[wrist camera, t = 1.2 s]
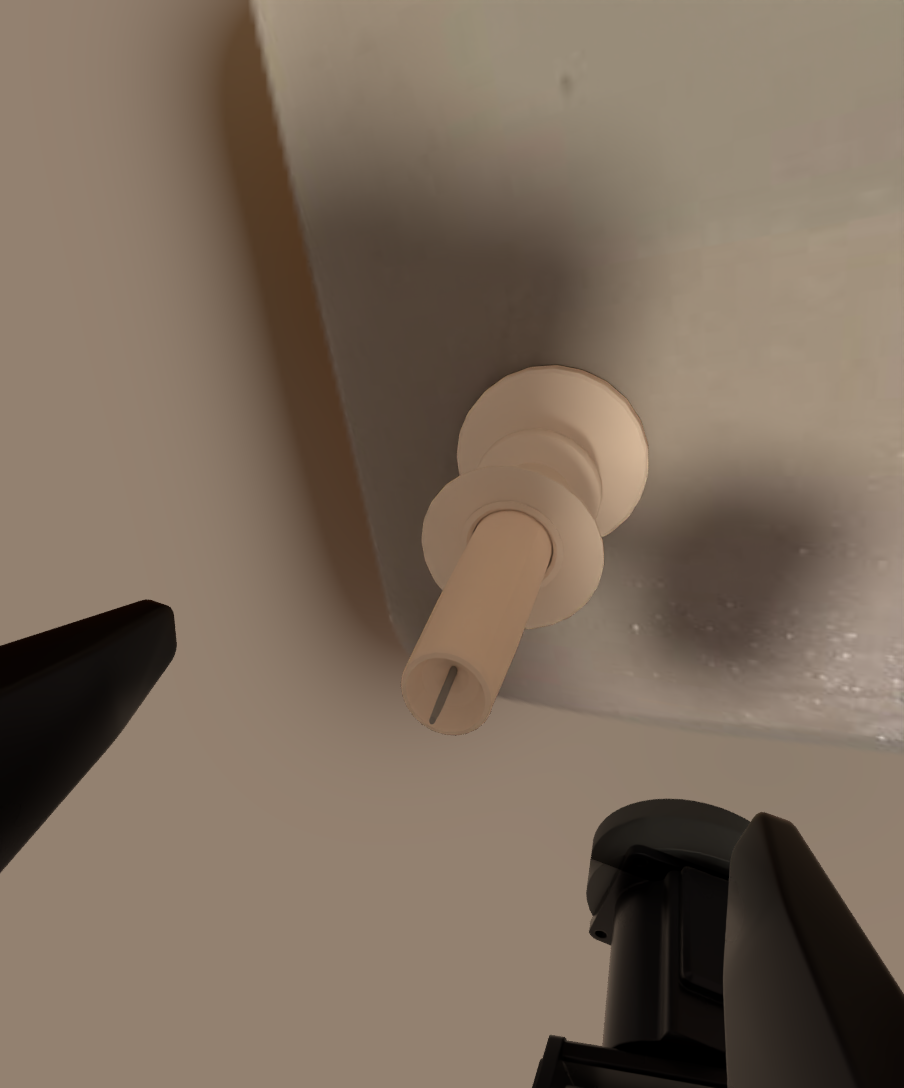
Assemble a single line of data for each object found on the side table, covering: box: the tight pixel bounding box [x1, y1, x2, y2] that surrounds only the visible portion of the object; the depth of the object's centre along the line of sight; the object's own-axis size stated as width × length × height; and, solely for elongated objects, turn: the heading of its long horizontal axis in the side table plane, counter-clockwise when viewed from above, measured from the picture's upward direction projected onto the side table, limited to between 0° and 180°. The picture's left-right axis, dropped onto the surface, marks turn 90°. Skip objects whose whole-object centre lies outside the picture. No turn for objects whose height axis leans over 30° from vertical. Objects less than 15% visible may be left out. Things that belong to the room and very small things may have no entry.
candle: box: [401, 365, 648, 736], centre depth 14 cm, size 5×5×10 cm
